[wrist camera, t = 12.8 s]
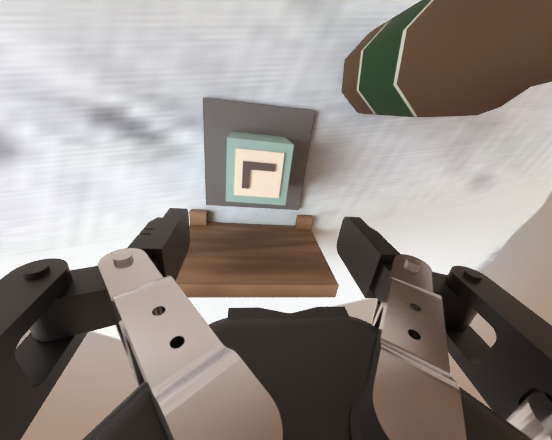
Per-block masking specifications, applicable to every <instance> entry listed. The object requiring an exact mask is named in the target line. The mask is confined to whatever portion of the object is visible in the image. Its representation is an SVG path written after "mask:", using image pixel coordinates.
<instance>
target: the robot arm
mask: <svg viewBox="0 0 552 440" xmlns="http://www.w3.org/2000/svg"><path fill="white" fill-rule="evenodd" d="M189 245H190V230H189V216H188V210H187V209H179V208H170V209H169V210H168V212H167V213H166V214H165V216H164V217H163V218H159V217H158V218H156V219H154V220H152V221H150V222H149V223H148V224H147V225H146V226H145V228H144V229H143V230H142V231H141V232H140V234H139V235H138V236H137V237H136V238H135V239H134V241H133V242H132V243H131V244H130V245H129V247H128V248H126V249H120V250H116V251H114V252H111V253H109V254H107V255H105V256H104V257H103V258H102V259H101V260H100V261H99V263H98V266H95V267H89V268H83V269H77V270H69V267H68V264H67V262H66V261H64V260H61V259H44V260H38V261H34V262H31V263H28V264H25V265H23V266H21V267H18V268H16V269H15V270H13V271H11V272H10V273H9V274H7V275H6V276H5V277H3V278H2V279H1V280H0V440H20V439H21V438H22V436H23V435H24V433H25V431H26V430H27V428H28V426H29V425H30V423H31V422H32V420H33V419H34V417H35V416H36V414H37V412H38V411H39V409H40V408H41V406H42V404H43V402H44V401H45V400H46V398H47V396H48V395H49V393H50V391H51V390H52V388H53V387H54V385H55V384H56V382H57V380H58V379H59V377H60V376H61V374H62V372H63V371H64V369H65V368H66V366H67V365H68V363H69V361H70V360H71V358H72V357H73V355H74V353H75V352H76V350H77V348H78V347H79V345H80V344H81V342H82V340H83V339H84V337H85V336H86V334H87V333H88V332H89V331H93V330H97V329H101V328H105V327H108V326H112V325H116V328H117V331H118V334H119V336H120V339H121V341H122V344H123V346H124V349H125V352H126V354H127V357H128V360H129V363H130V365H131V368H132V371H133V374H134V377H135V380H136V383H137V386H138V388H137V389H136V390H134V391H133V392H132V393H131V394H130V395H129V396H128V397H127V398H126V399H125V400H124V401H123V402H122V403H121V404H120V405H119V406H118V407H117V408H116V409H114V410H113V411H112V412H111V413H110V414H109V415H108V416H107V417H106V418H105V419H104V420H103V421H102V422H101V423H100V424H99V425H97V426H96V427H95V428H94V429H93V430H92V431H91V432H90V433H89V434H88V435H87V436H86V437H85V438H84V439H83V440H552V326H551V325H550V324H548V323H547V322H546V321H545V320H543V319H542V318H541V317H539V316H538V315H537V314H535V313H534V312H533V311H531V310H530V309H529V308H527V307H526V306H525V305H524V304H522V303H521V302H519V301H518V300H517V299H516V298H514V297H513V296H511V295H510V294H509V293H508V292H506V291H505V290H504V289H502V288H501V287H500V286H499V285H497V284H496V283H495V282H493V281H492V280H491V279H489V278H488V277H487V276H485V275H483V274H482V273H480V272H478V271H476V270H473V269H470V268H467V267H463V266H454V267H452V268H451V270H450V272H449V274H448V275H444V274H439V273H435V272H432V270H431V268H430V266H429V265H428V264H426V263H425V262H424V261H422V260H420V259H418V258H416V257H413V256H409V255H403V254H400V253H399V252H398V251H397V250H396V249H395V248H394V247H393V246H392V245H391V244H390V243H387V241H386V240H385V239H384V238H383V237H382V236H381V235H380V234H379V233H378V232H377V231H375V230H374V229H372V228H370V227H369V226H368V225H367V224H366V223H365V222H364V221H363V220H362V219H361V218H359V217H345V218H344V219H343V221H342V225H341V229H340V233H339V237H338V241H337V252H338V254H339V256H340V257H341V259H342V261H343V262H344V264H345V265H346V267H347V269H348V270H349V272H350V274H351V275H352V277H353V279H354V280H355V282H356V283H357V285H358V287H359V288H360V290H361V292H362V293H363V295H364V297H365V298H377V299H378V300H377V303H376V306H375V309H374V313H373V317H372V320H371V324H369V323H367V322H365V321H363V320H360V319H358V318H354V317H351V316H349V315H348V313H347V311H346V309H345V307H316V308H311V309H307V310H303V311H299V312H295V313H283V312H278V311H273V310H268V309H263V308H229V311H228V318H225V319H221V320H219V321H216V322H213V323H211V324H209V325H208V324H207V323H206V321H205V320H204V319H203V317H202V316H201V315H200V313H199V312H198V311H197V310H196V308H195V307H194V306H193V304H192V303H191V302H190V300H189V299H188V298H187V296H186V295H185V294H184V292H183V291H182V290H181V288H180V287H179V286H178V284H177V283H176V279H177V277H178V274H179V272H180V269H181V267H182V264H183V262H184V259H185V257H186V255H187V252H188V250H189ZM477 312H478V313H479V314H480V315H481V316H482V317H483V318H484V319H485V320H486V321H487V322H488V323H489V324H490V325H491V326H492V327H493V328H494V330H495V332H496V336H497V339H496V342H495V344H494V345H493V346H492V347H491V348H490V347H489V346H488V345H487V344H486V343H485V342H484V340H483V339H482V338H481V337H480V336H479V335H478V334H477V333H476V332H475V331H474V330H473V329H472V328H471V327H470V326H469V324H470V323H471V321H472V320H473V318H474V317H475V315H476V314H477ZM29 329H30V331H31V333H30V334H29V335H28V336H27V337H26V338H25V339H24V341H23V342H22V343H21V344H20V345H19V346H18V347H17V344H18V342H19V341H20V339H21V338H22V337H23V335H24V334H25V333H26V332H27V331H28V330H29ZM16 347H17V349H16ZM448 352H449V353H450V355H451V356H452V357H453V359H454V360H455V361H456V363H457V364H458V365H459V367H460V368H461V369H462V371H463V372H464V373H465V375H466V376H467V377H468V379H469V380H470V381H471V382H472V384H473V385H474V387H475V388H476V389H477V390H478V392H479V393H480V394H481V396H482V397H483V399H484V400H485V401H486V402H487V404H488V405H489V406H490V408H491V409H492V410H493V411H492V410H491V409H489V408H488V407H487V406H485V405H484V404H483V403H481V402H480V401H478V400H477V399H476V398H474V397H473V396H471V395H470V394H469V393H467V392H466V391H464V390H463V389H462V388H460V387H459V386H458V384H457V382H456V381H455V380H454V379H452V377H451V374H450V367H449V357H448Z"/></svg>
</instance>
